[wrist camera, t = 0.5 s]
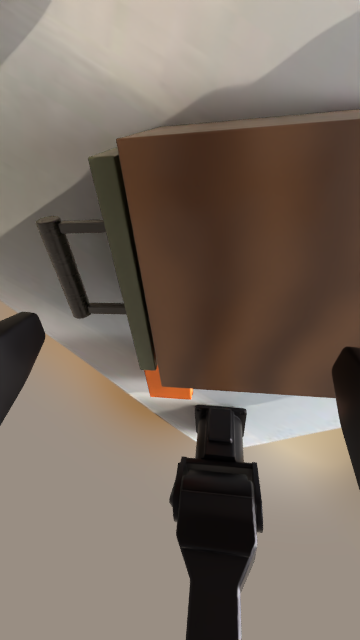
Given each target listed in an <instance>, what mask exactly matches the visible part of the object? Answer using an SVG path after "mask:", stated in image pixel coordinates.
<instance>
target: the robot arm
mask: <svg viewBox="0 0 360 640" xmlns="http://www.w3.org/2000/svg"><path fill="white" fill-rule="evenodd" d="M44 340H45V332H44V329H43V327H42V324H41V321H40V319H39V317H38V315H37V314H35V313H31V312H20V313H18V314H16V315H13V316H11V317H9V318H6V319H4V320H2V321H0V425H1V423H2V422H3V420H4V418H5V417H6V415H7V413H8V412H9V410H10V408H11V406H12V405H13V403H14V401H15V400H16V398H17V396H18V394H19V392H20V391H21V389H22V387H23V386H24V384H25V382H26V380H27V378H28V376H29V374H30V372H31V369H32V367H33V365H34V363H35V360H36V358H37V356H38V354H39V352H40V349H41V347H42V345H43V343H44ZM332 378H333V384H334V390H335V396H336V402H337V408H338V414H339V419H340V424H341V428H342V431H343V435H344V438H345V441H346V445H347V449H348V452H349V455H350V459H351V462H352V466H353V469H354V472H355V476H356V479H357V483H358V486H359V489H360V348H358V347H349V346H348V347H344V348H343V349H342V351H341V353H340V354H339V356H338V358H337V360H336V361H335V363H334V365H333V367H332ZM246 415H247V412H246V409H243V408H231V407H218V406H204V405H196V406H195V419H196V432H197V433H198V434H197V446H196V458H187V457H182V459H181V462H180V463H178V468H177V475H176V480H175V483H174V487H173V489H172V492H171V495H170V504H171V505H172V507H173V517H174V521H175V522H177V530H176V536H177V539H178V542H179V546H180V549H181V552H182V555H183V558H184V561H185V564H186V568H187V571H188V574H189V577H190V593H189V605H188V618H187V631H186V640H242V636H241V602H240V593H241V591H242V589H243V587H244V584H245V582H246V580H247V577H248V575H249V572H250V570H251V568H252V565H253V563H254V560H255V555H256V549H257V532H260V533H262V532H263V513H262V500H261V492H260V484H259V477H258V468H257V463H255V462H252V463H245V462H244V460H243V439H242V437H243V435H244V428H245V421H246Z"/></svg>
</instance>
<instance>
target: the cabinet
mask: <svg viewBox="0 0 360 640" xmlns="http://www.w3.org/2000/svg"><path fill="white" fill-rule="evenodd" d="M116 143H117V148H118V154H119V159H120V164H121V170H122V175H123V181H124V186H125V191H126V197H127V202H128V208H129V213H130V218H131V224H132V229H133V234H134V240H135V245H136V251H137V256H138V261H139V267H140V272H141V278H142V283H143V288H144V294H145V299H146V304H147V310H148V315H149V321H150V326H151V331H152V337H153V342H154V348H155V353H156V358H157V364H158V369H159V374H160V380H161V385H162V387H174V388H189V389H205V390H220V391H235V392H250V393H266V394H281V395H296V396H311V397H326V398H336V396H335V390H334V384H333V378H332V367H333V365H334V363H335V361H336V360H337V358H338V356H339V354H340V353H341V351H342V349H343V348H344V347H348V346H349V347H358V348H360V109H356V110H345V111H334V112H322V113H311V114H300V115H288V116H277V117H265V118H254V119H243V120H231V121H220V122H208V123H197V124H186V125H174V126H163V127H158V128H155V129H151V130H147V131H143V132H140V133H136V134H132V135H129V136H125V137H121V138H117V139H116Z"/></svg>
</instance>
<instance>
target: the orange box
mask: <svg viewBox="0 0 360 640" xmlns="http://www.w3.org/2000/svg"><path fill="white" fill-rule="evenodd" d="M144 372H145V376H146V380H147V384H148V388H149V393H150V396H151V397H162V398H176V399H190V400H191V397H192V395H193V389H189V388H174V387H162V385H161V380H160V374H159V369H158V365H157V369H156V371H151V370H144Z"/></svg>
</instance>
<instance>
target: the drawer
mask: <svg viewBox="0 0 360 640" xmlns="http://www.w3.org/2000/svg"><path fill="white" fill-rule="evenodd" d="M88 161H89V165H90V169H91V173H92V177H93V181H94V185H95V189H96V193H97V197H98V201H99V205H100V209H101V213H102V217H103V220H76V221H62V222H61V219H60V217H58V216H48V217H44V218H41V219H38V220H37V221H36V225H37V227H38V230H39V232H40V235H41V237H42V240H43V242H44V245H45V247H46V250H47V252H48V254H49V257H50V259H51V262H52V264H53V267H54V269H55V272H56V274H57V277H58V279H59V281H60V284H61V286H62V289H63V291H64V294H65V296H66V299H67V301H68V304H69V306H70V309H71V311H72V313H73V316H74V317H75V318H85V317H87V316H89V315H90V314H91V313H93V314H127V317H128V321H129V326H130V330H131V334H132V338H133V342H134V346H135V350H136V354H137V358H138V362H139V366H140V369H141V370H151V371H156V369H157V365H158V364H157V358H156V353H155V348H154V342H153V337H152V331H151V326H150V321H149V315H148V310H147V304H146V299H145V294H144V288H143V283H142V278H141V272H140V267H139V261H138V256H137V251H136V245H135V240H134V234H133V229H132V224H131V218H130V213H129V208H128V202H127V197H126V191H125V186H124V181H123V175H122V170H121V164H120V159H119V154H118V148H117V147H116V148H114V149H111V150H108V151H105V152H102V153H99V154H96V155H94V156H91V157H89V158H88ZM101 232H106V233H107V237H108V241H109V245H110V249H111V253H112V257H113V261H114V265H115V269H116V273H117V277H118V281H119V285H120V289H121V293H122V297H123V301H124V303H90V302H89V300H88V297H87V294H86V291H85V288H84V285H83V282H82V279H81V276H80V274H79V271H78V268H77V265H76V262H75V259H74V256H73V253H72V250H71V248H70V245H69V242H68V239H67V236H66V233H101Z"/></svg>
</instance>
